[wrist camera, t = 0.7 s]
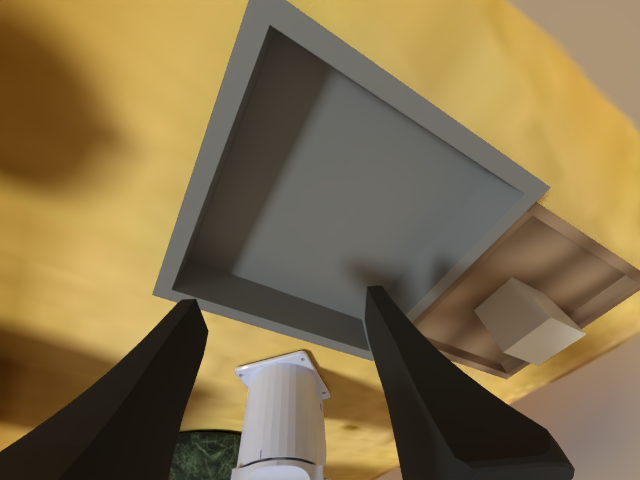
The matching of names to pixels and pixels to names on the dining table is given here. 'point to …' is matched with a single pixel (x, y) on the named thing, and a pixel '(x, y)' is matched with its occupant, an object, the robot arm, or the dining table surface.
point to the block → (527, 323)
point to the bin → (330, 190)
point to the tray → (535, 271)
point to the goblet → (205, 456)
